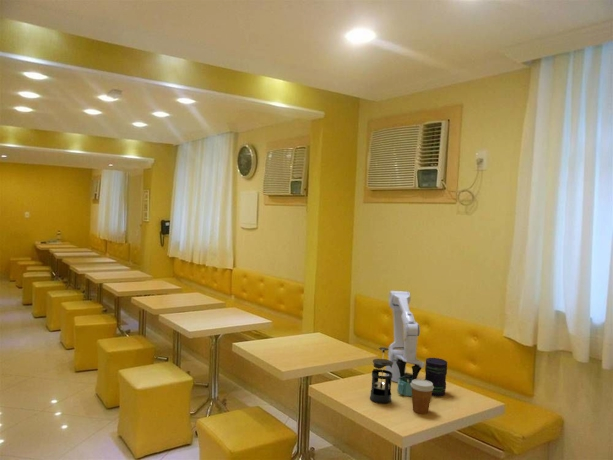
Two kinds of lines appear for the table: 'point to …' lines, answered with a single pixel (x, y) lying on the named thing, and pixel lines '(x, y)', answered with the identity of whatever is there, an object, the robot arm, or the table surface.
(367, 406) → the table surface
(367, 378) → the table surface
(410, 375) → the plunger
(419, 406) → the disposable coffee cup
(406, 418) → the table surface
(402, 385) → the carafe
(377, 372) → the french press
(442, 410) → the table surface
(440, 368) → the storage jar
